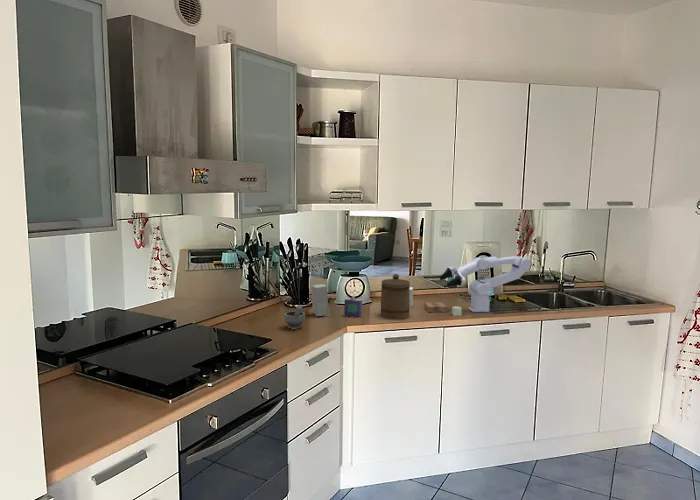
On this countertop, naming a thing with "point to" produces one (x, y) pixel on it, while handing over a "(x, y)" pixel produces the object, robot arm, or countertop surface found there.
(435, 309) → the base block
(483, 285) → the robot arm
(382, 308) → the wooden container
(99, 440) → the countertop surface
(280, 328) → the countertop surface
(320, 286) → the skincare box
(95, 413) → the countertop surface
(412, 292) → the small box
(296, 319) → the mortar and pestle
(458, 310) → the cube
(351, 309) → the flask
